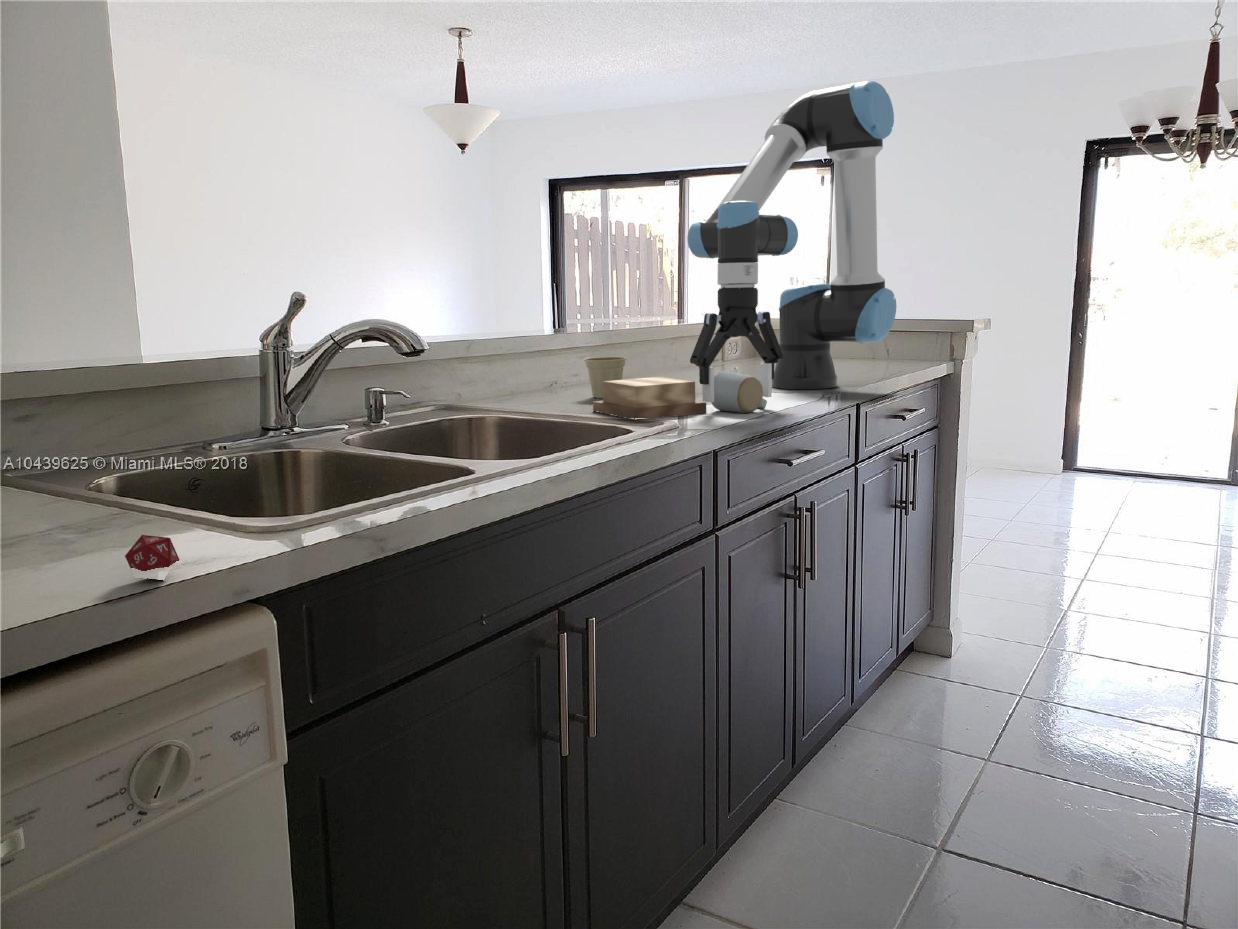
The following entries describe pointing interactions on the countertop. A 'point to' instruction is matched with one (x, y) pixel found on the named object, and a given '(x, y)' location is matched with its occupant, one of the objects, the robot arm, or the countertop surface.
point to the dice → (151, 553)
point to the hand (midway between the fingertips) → (737, 399)
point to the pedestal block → (648, 392)
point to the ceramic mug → (737, 393)
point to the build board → (650, 410)
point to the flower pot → (604, 372)
